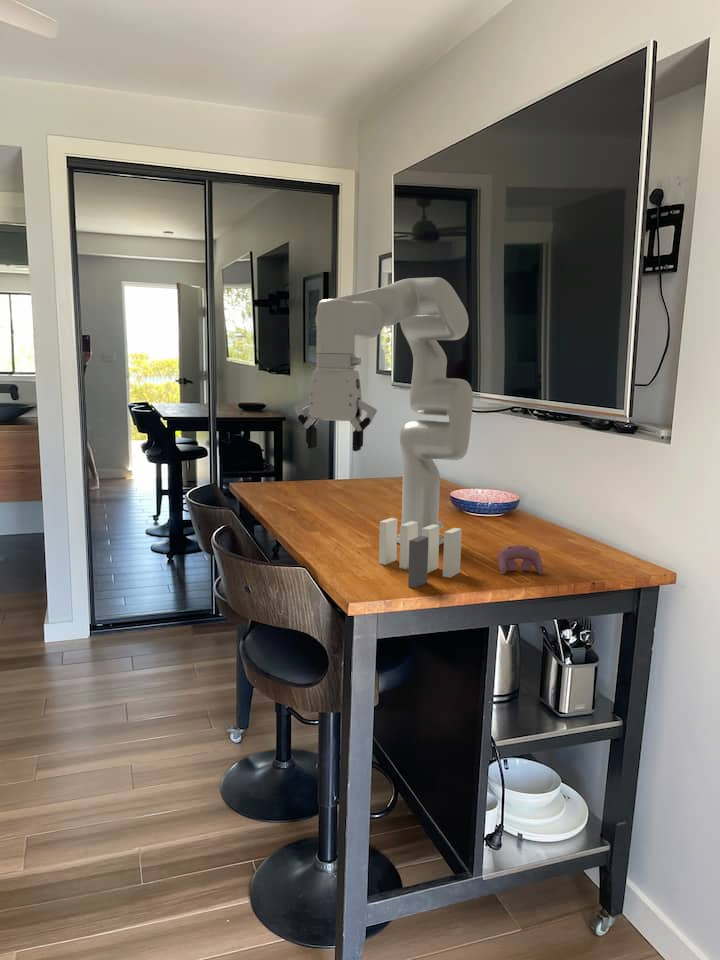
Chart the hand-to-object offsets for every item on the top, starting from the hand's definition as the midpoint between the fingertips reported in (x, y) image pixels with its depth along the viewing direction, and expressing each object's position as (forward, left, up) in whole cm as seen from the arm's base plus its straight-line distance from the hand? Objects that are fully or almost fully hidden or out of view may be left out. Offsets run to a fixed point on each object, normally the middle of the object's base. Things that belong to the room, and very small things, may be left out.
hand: (334, 449), depth 145 cm
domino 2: (-22, +6, -29) cm, 37 cm away
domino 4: (-22, +11, -29) cm, 38 cm away
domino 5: (-22, +17, -29) cm, 40 cm away
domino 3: (-11, +14, -29) cm, 34 cm away
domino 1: (-22, 0, -29) cm, 36 cm away
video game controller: (-33, +28, -29) cm, 52 cm away
